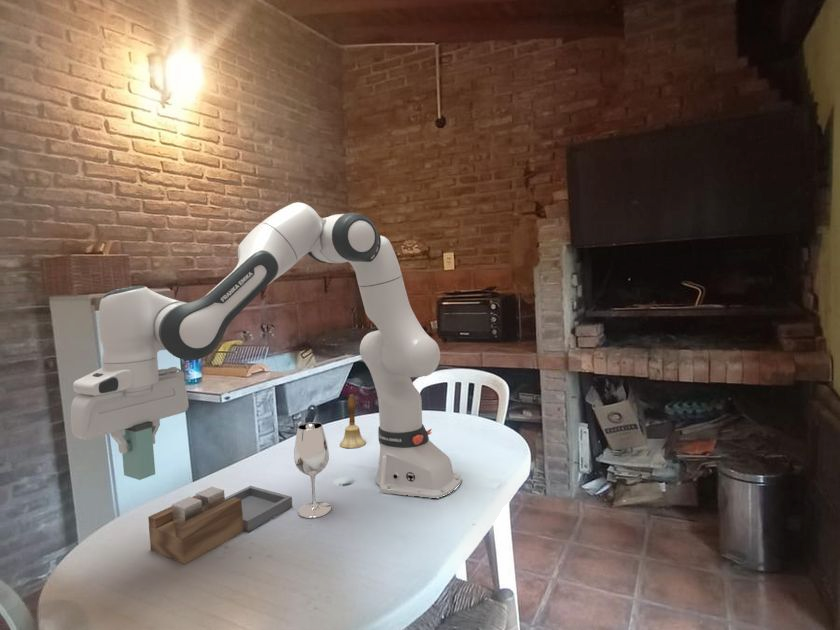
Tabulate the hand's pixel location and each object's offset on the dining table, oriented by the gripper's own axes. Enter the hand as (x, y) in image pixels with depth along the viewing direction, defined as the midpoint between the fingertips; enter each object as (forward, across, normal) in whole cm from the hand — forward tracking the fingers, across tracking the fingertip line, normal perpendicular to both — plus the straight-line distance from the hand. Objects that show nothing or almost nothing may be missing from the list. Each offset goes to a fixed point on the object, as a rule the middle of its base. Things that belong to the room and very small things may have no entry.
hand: (137, 448), depth 95 cm
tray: (+23, -25, 0) cm, 34 cm away
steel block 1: (+18, -9, 0) cm, 20 cm away
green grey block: (+5, 0, 0) cm, 5 cm away
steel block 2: (+18, -14, 0) cm, 23 cm away
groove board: (+23, -11, 0) cm, 26 cm away
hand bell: (+23, -72, -7) cm, 76 cm away
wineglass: (+23, -32, +13) cm, 42 cm away
